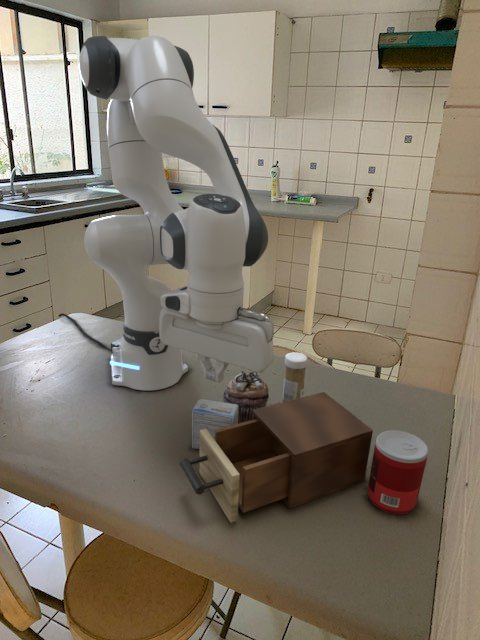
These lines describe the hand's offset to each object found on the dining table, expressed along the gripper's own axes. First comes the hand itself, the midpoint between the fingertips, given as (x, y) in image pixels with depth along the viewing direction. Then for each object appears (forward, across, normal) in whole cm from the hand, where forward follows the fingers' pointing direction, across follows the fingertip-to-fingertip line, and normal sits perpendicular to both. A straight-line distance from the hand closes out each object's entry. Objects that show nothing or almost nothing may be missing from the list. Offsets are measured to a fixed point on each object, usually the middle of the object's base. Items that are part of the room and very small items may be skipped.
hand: (213, 379), depth 78 cm
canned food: (+17, -30, -8) cm, 36 cm away
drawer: (+16, -8, +4) cm, 18 cm away
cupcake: (+17, +2, -16) cm, 24 cm away
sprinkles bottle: (+17, -6, -23) cm, 29 cm away
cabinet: (+17, -15, -7) cm, 24 cm away
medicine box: (+17, +2, -4) cm, 18 cm away
